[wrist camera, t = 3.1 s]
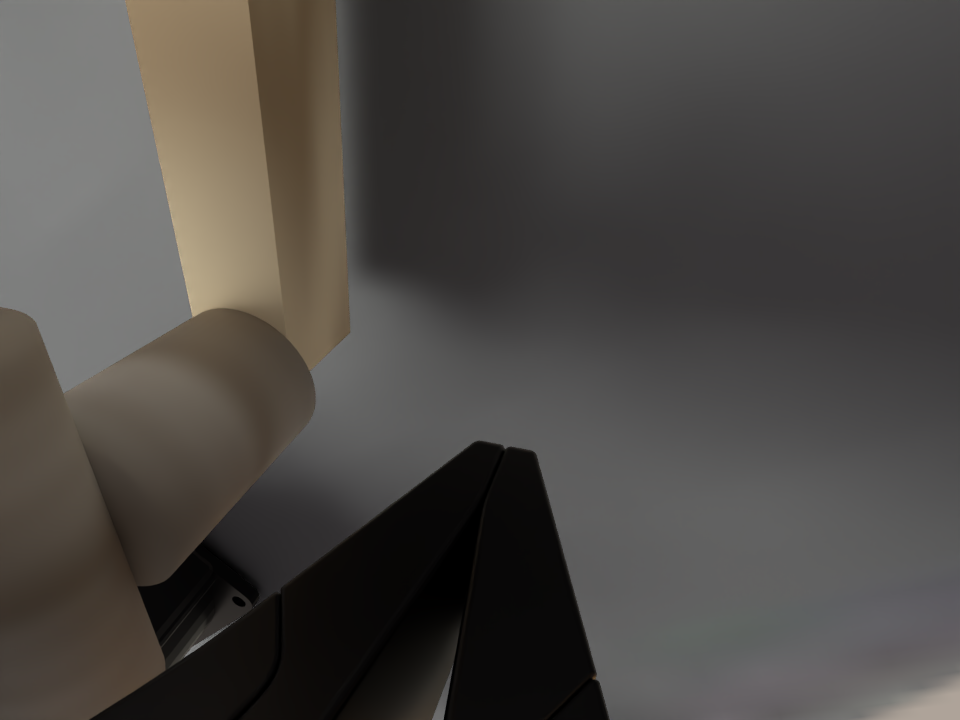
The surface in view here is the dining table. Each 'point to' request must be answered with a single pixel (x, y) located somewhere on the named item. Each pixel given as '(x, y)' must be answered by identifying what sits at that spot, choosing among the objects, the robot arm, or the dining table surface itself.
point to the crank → (177, 353)
